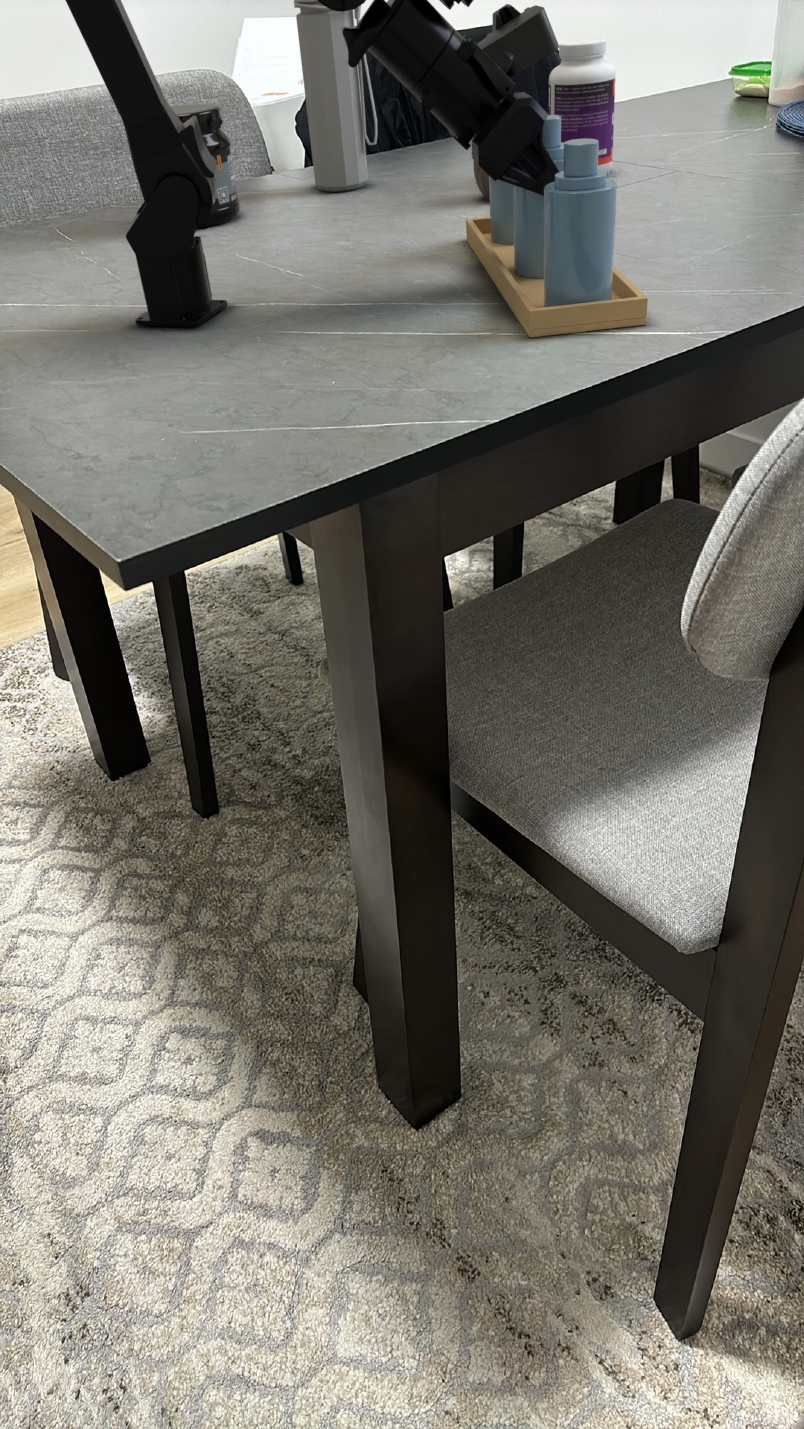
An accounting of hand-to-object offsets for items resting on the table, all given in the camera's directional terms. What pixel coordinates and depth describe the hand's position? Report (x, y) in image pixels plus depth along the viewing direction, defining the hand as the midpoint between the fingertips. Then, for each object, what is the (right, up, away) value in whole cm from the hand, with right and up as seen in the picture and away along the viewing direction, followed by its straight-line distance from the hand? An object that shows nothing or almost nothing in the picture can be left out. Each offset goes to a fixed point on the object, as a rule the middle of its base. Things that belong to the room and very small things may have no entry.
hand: (560, 191), depth 93 cm
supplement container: (-39, +14, +36) cm, 55 cm away
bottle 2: (0, -13, -6) cm, 15 cm away
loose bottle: (-1, -5, +4) cm, 7 cm away
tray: (-1, -6, +4) cm, 7 cm away
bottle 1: (-2, +2, +14) cm, 15 cm away
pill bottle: (+9, +22, +40) cm, 46 cm away
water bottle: (-21, +23, +45) cm, 55 cm away
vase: (-2, +16, +33) cm, 37 cm away
